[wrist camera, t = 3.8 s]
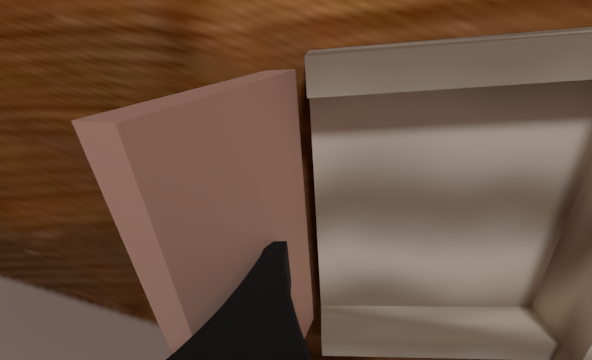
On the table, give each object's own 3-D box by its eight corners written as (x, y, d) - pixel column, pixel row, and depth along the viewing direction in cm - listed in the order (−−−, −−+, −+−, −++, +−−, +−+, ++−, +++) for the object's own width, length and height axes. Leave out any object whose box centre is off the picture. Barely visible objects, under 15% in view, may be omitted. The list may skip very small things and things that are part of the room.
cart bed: (525, 292, 17) (598, 384, 13) (321, 292, 18) (322, 376, 14) (628, 23, 11) (845, 15, 6) (308, 50, 12) (302, 58, 8)
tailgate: (313, 318, 16) (243, 476, 10) (281, 307, 17) (200, 448, 11) (295, 69, 10) (115, 123, 5) (248, 71, 11) (46, 118, 5)
